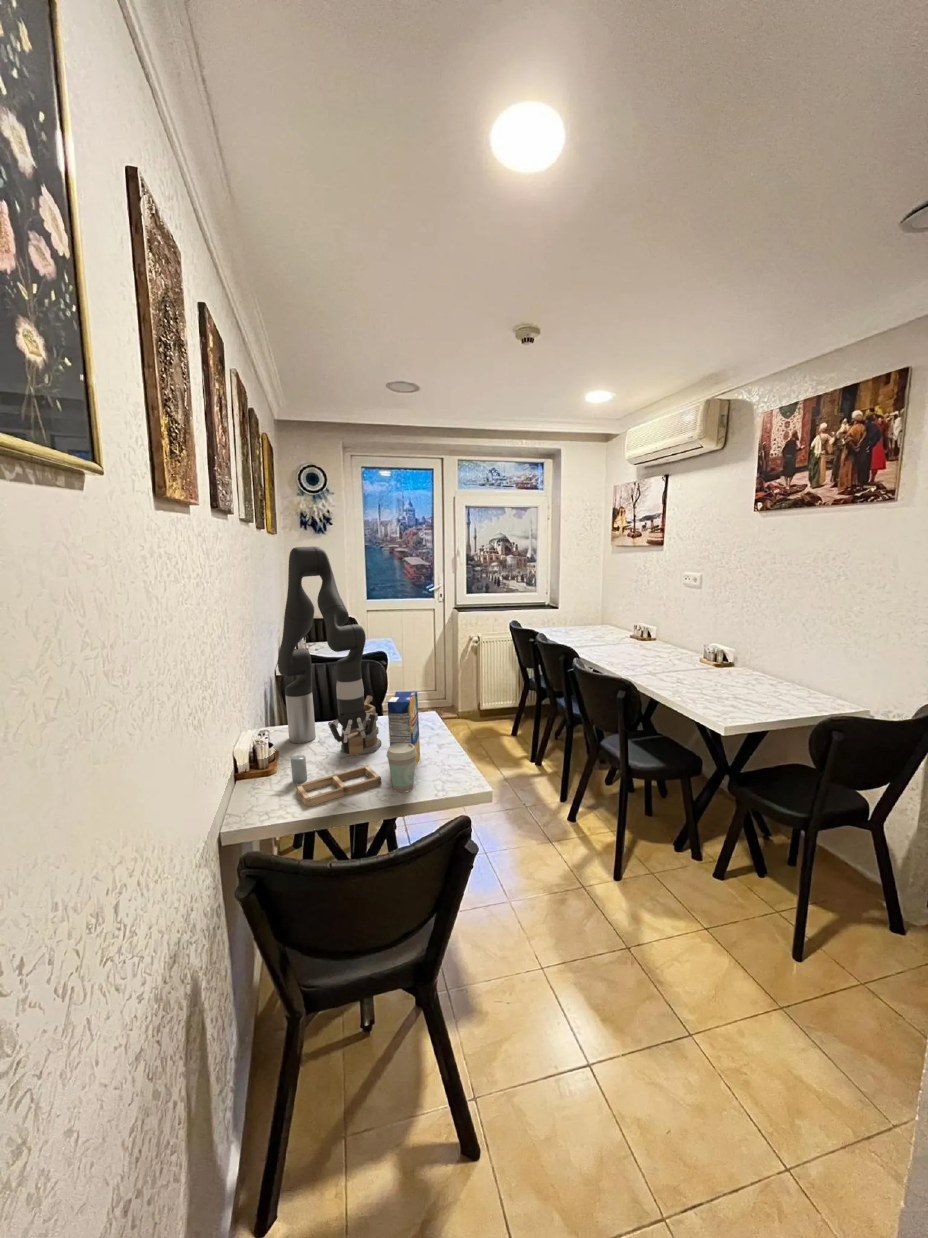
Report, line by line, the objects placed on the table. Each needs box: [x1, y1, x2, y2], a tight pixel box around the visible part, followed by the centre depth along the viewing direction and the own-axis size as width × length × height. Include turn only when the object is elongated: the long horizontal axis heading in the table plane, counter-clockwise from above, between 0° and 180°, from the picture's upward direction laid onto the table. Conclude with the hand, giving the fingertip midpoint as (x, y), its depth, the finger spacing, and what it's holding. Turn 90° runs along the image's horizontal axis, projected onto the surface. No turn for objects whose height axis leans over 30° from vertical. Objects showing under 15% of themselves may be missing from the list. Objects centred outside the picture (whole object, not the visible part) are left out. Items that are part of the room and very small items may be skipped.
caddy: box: [295, 765, 382, 808], centre depth 142 cm, size 10×22×2 cm, turn 124°
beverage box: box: [387, 691, 421, 767], centre depth 155 cm, size 7×11×22 cm, turn 173°
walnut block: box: [347, 732, 364, 757], centre depth 143 cm, size 4×4×5 cm
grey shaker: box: [290, 754, 308, 785], centre depth 147 cm, size 4×4×7 cm
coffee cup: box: [386, 743, 417, 793], centre depth 140 cm, size 8×8×12 cm
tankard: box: [340, 695, 382, 756], centre depth 174 cm, size 20×13×15 cm, turn 171°
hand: (354, 751), depth 143 cm, fingers closed on walnut block, 4 cm apart
